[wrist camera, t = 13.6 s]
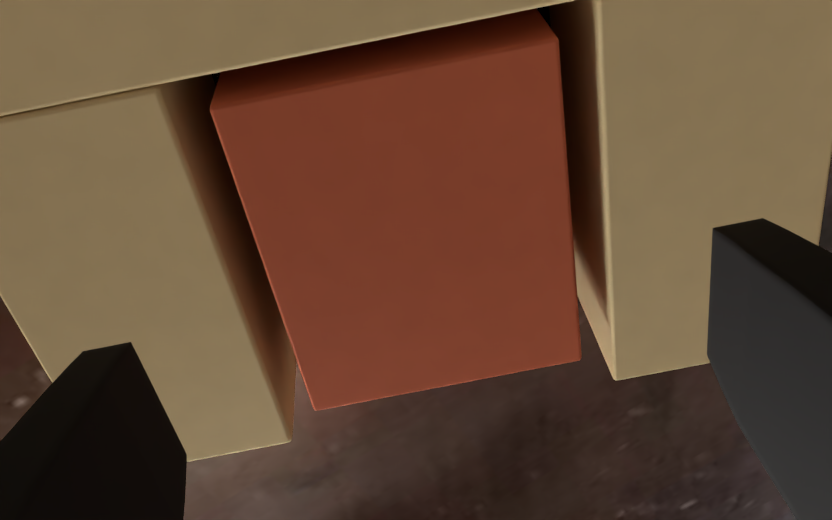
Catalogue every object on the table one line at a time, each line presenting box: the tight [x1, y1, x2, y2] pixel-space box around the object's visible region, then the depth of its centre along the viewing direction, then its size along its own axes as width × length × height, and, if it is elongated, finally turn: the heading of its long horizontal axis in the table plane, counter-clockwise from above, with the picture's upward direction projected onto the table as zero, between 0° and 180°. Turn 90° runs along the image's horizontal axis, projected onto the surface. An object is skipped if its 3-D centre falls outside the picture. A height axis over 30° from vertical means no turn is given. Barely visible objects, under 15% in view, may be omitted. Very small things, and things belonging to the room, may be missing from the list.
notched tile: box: [0, 0, 832, 462], centre depth 11 cm, size 12×12×3 cm
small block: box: [210, 8, 582, 411], centre depth 13 cm, size 6×4×3 cm
